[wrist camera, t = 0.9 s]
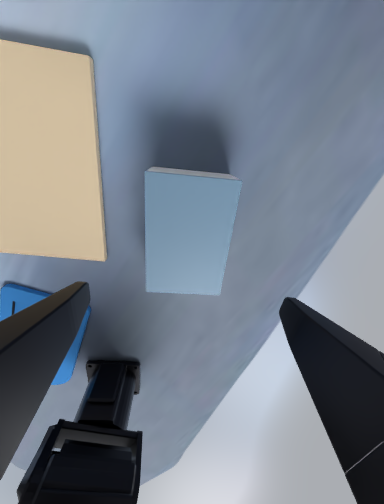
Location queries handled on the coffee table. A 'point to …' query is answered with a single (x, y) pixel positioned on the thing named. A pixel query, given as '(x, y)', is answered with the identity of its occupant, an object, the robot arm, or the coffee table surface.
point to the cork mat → (49, 154)
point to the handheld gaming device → (23, 297)
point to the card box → (188, 229)
